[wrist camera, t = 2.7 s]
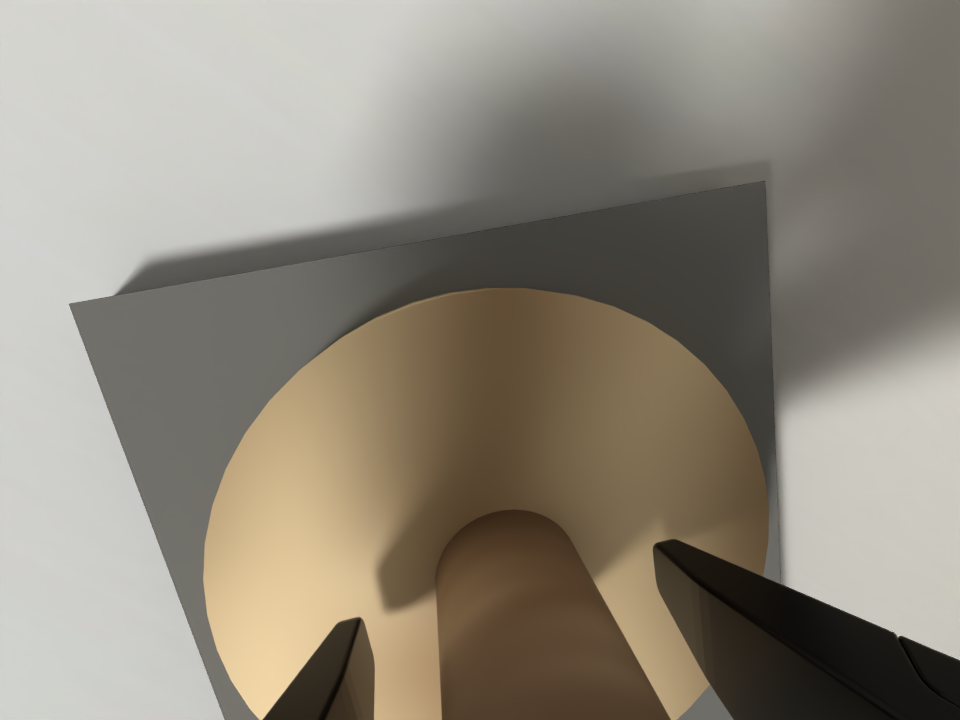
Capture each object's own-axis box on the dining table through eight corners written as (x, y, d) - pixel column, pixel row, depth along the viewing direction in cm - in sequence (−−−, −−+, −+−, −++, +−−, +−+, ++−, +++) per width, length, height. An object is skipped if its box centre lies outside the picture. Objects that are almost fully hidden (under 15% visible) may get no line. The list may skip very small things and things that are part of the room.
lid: (718, 240, 9) (1131, 194, 4) (749, 684, 11) (1032, 1040, 6) (147, 350, 8) (-360, 495, 3) (308, 811, 10) (193, 1364, 5)
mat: (731, 189, 10) (765, 180, 9) (757, 672, 13) (785, 706, 12) (108, 300, 9) (68, 303, 8) (287, 804, 12) (274, 853, 11)
